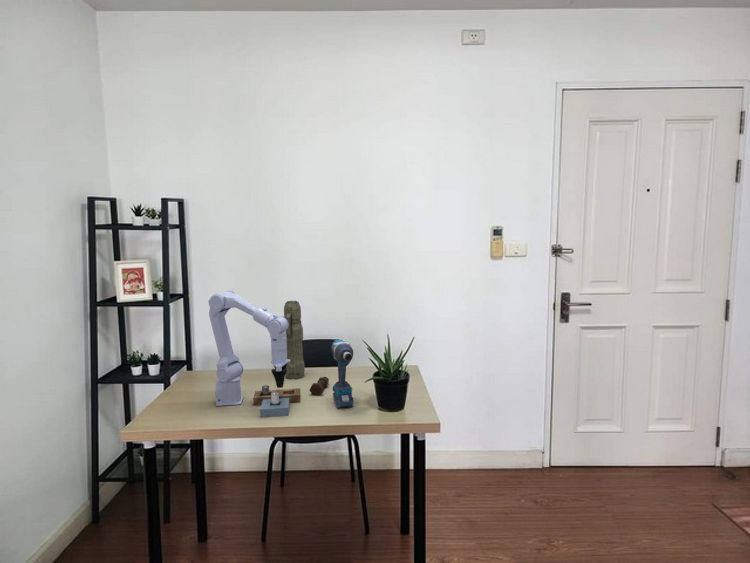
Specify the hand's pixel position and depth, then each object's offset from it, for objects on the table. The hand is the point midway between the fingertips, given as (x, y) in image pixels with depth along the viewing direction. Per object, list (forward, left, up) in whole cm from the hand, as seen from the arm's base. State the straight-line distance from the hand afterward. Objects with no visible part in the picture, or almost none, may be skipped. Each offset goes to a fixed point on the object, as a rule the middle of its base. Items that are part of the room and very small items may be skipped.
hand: (280, 384), depth 187 cm
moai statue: (+4, +38, -10) cm, 40 cm away
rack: (-2, +9, -10) cm, 13 cm away
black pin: (-7, +9, -10) cm, 14 cm away
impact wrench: (+24, -2, -10) cm, 26 cm away
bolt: (+16, +18, -10) cm, 26 cm away
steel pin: (-2, -3, -10) cm, 10 cm away
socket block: (-2, -3, -10) cm, 10 cm away
